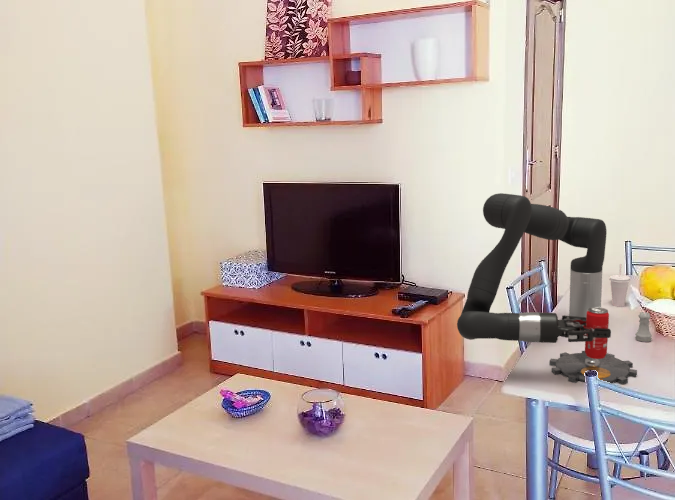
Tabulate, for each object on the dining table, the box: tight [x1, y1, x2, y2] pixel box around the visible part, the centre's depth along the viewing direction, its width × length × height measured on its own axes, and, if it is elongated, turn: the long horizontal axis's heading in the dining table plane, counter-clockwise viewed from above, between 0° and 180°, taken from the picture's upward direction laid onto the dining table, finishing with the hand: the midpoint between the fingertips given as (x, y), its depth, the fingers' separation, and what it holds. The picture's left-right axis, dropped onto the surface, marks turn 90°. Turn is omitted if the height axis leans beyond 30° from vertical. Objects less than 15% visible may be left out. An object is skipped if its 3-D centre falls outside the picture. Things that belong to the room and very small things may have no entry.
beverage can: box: [584, 307, 610, 359], centre depth 170 cm, size 5×5×12 cm
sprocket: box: [548, 350, 638, 385], centre depth 177 cm, size 21×21×3 cm
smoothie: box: [609, 263, 631, 308], centre depth 228 cm, size 6×6×14 cm
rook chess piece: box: [634, 311, 653, 343], centre depth 196 cm, size 4×4×8 cm
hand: (607, 329), depth 169 cm, fingers closed on beverage can, 5 cm apart
